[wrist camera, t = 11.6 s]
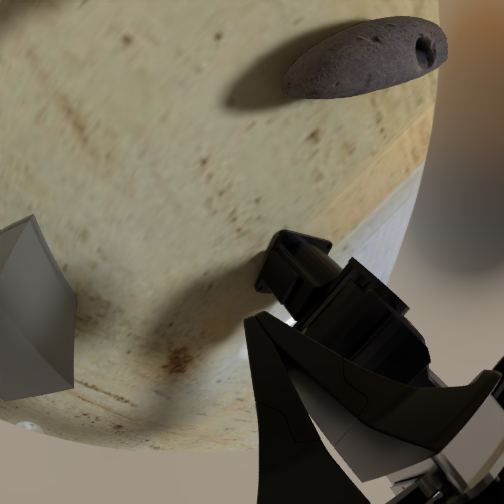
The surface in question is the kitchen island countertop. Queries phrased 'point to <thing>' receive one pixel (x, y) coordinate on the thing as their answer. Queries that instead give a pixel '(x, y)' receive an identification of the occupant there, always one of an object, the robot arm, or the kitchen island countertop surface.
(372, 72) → the perforated stone tool
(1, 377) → the camera case
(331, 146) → the kitchen island countertop surface
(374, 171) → the kitchen island countertop surface
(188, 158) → the kitchen island countertop surface
